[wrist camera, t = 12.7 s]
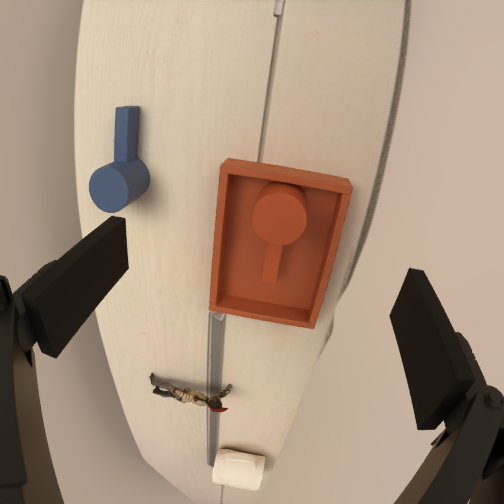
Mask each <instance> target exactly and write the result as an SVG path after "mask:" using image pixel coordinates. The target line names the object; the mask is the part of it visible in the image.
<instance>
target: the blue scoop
mask: <svg viewBox="0 0 504 504" xmlns="http://www.w3.org/2000/svg"><path fill="white" fill-rule="evenodd" d="M138 122H139V106H124V107H117V108H116V114H115V142H114V162H112V163H110V164H107V165H105V166H103V167H101V168H99V169H97V170H96V171H95V172H94V173H93V174H92V176H91V178H90V182H89V192H90V196H91V198H92V200H93V202H94V203H95V205H96V206H97V207H98V208H100V209H101V210H103V211H105V212H108V213H115V212H118V211H120V210H121V209H123V208H124V207H126V206H127V205H128V204H130V203H131V202H132V201H134V200H135V199H137V198H138V197H139V196H141V195H142V194H143V193H144V192H145V191H146V190H147V188H148V186H149V180H150V177H149V172H148V169H147V167H146V166H145V164H144V163H143V162H142V161H141V160H139V159H138V158H137V143H138Z"/></svg>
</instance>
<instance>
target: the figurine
mask: <svg viewBox="0 0 504 504" xmlns="http://www.w3.org/2000/svg"><path fill="white" fill-rule="evenodd" d="M149 378H150V380H151V384H152V385H155V386H156V388H155V389H154V390H153V393H155V394H158V395H160V396H162V397H173V398H174V399H175V398H177V399H176V400H178V401H180V402H182V403H185V402H192V403H194V404H197V405H199V406H206V405H208V407H209V408H210V409H211V410H212V411H213V412H223V411H226V410H227V409H228V408H222V403H221V401H220V398H223V397H225V396H227V395H228V394H229V393H230V390H229V389H230V388H232V385H231V384H229V385H228V386H227V388H226V389H225V390H222V391H223V392H221V393H219V394H217V395H215V396H213V397H210V398H208V397H206V396H205V395H204V394H203V393H200V392H196V391H192V390H190V389H189V388H188V389H189V390H187V389H186V390H185V389H184V390H182V389H179V388H177V387H175V386H174V385H172V384H170V383H168V382H162V381H159V380H157V379H155V377H154V374H153V373H152V374H151V376H149ZM153 387H154V386H153ZM159 387H162V388H166V389H168V391H162V390H160V389H159ZM226 391H229V393H228V394H227V393H226ZM226 394H227V395H226Z"/></svg>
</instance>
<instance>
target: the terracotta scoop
mask: <svg viewBox="0 0 504 504" xmlns="http://www.w3.org/2000/svg"><path fill="white" fill-rule="evenodd" d="M251 222H252V226H253V229H254V231H255V232H256V234H257V235H258V236H259V237H260V238H261V239H262V240H264V241H265V242H267V245H266V251H265V257H264V263H263V269H262V275H261V281H266V282H272V283H276V280H277V274H278V269H279V264H280V259H281V254H282V248H283V245H287V244H290V243H292V242H294V241H296V240H297V239H298V238H300V237H301V235H302V234H303V233H304V231H305V228H306V225H307V206H306V196H305V194H304V192H303V190H302V189H301V187H300V186H299V185H295V184H290V183H284V182H278V181H270V182H269V183H267V184H266V185H265V186H264V187H263V188H262V190H261V191H260V194H259V196H258V198H257V201H256V203H255V206H254V208H253V211H252V215H251Z"/></svg>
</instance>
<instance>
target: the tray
mask: <svg viewBox="0 0 504 504" xmlns="http://www.w3.org/2000/svg"><path fill="white" fill-rule="evenodd" d="M270 181H278V182H284V183H290V184H295V185H299V186H300V187H301V189H302V190H303V192H304V194H305V196H306V206H307V225H306V228H305V231H304V233H303V234H302V235H301V237H300V238H298V239H297V240H296V241H294V242H292V243H290V244H287V245H283V248H282V254H281V259H280V264H279V269H278V274H277V280H276V283H272V282H266V281H261V275H262V269H263V263H264V257H265V251H266V245H267V242H265V241H264V240H262V239H261V238H260V237H259V236H258V235H257V234H256V232H255V231H254V229H253V226H252V222H251V215H252V211H253V208H254V206H255V203H256V201H257V198H258V196H259V194H260V191H261V190H262V188H263V187H264V186H265V185H266V184H267V183H269V182H270ZM351 192H352V186H351V184H350V182H349V180H348V179H346V178H341V177H336V176H331V175H326V174H321V173H316V172H311V171H305V170H300V169H294V168H288V167H283V166H277V165H270V164H264V163H258V162H251V161H244V160H237V159H230V158H228V159H227V160H225V161H224V162H223V163H222V164H221V167H220V177H219V187H218V198H217V209H216V220H215V232H214V245H213V258H212V271H211V285H210V301H209V310H212V311H216V312H221V313H226V314H232V315H237V316H242V317H247V318H252V319H258V320H263V321H269V322H275V323H280V324H286V325H292V326H298V327H304V328H310V329H314V327H315V323H316V321H317V317H318V314H319V311H320V308H321V304H322V301H323V298H324V294H325V291H326V288H327V284H328V281H329V277H330V274H331V270H332V267H333V263H334V259H335V256H336V252H337V248H338V244H339V241H340V237H341V233H342V229H343V225H344V221H345V217H346V213H347V209H348V205H349V201H350V195H351Z"/></svg>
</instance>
